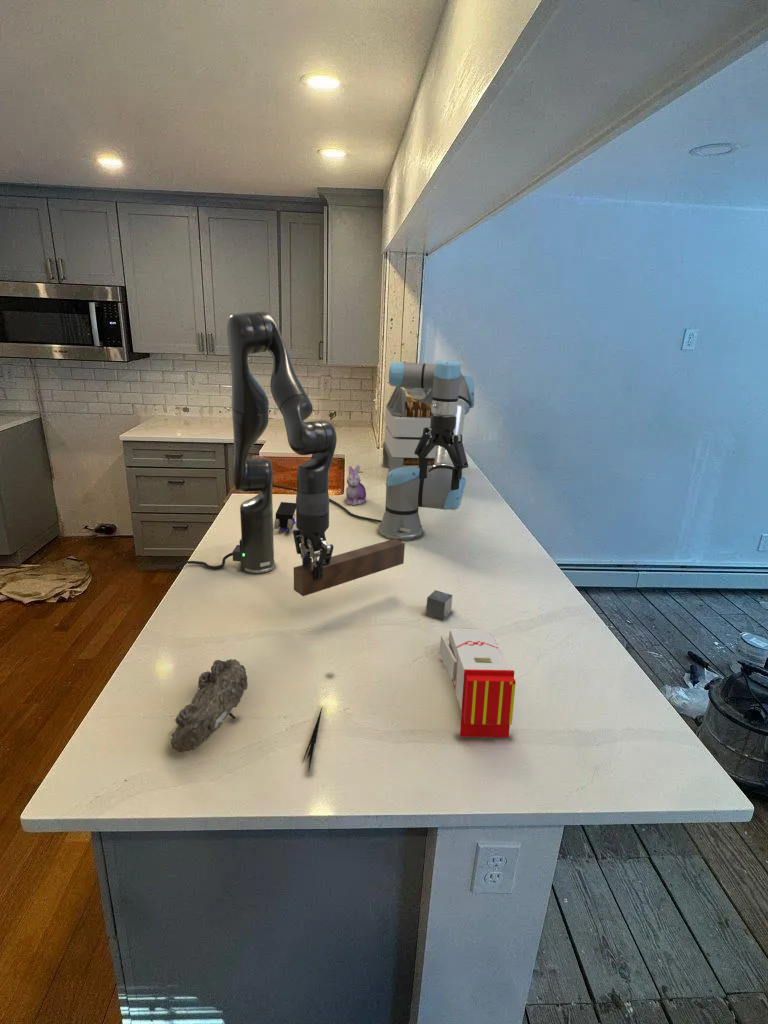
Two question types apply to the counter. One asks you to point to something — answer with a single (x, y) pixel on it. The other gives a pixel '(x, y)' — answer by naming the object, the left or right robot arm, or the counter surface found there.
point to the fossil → (210, 704)
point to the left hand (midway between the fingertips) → (312, 576)
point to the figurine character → (285, 516)
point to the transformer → (405, 430)
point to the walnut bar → (350, 566)
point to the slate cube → (439, 604)
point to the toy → (479, 682)
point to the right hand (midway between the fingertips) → (438, 484)
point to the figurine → (355, 488)
